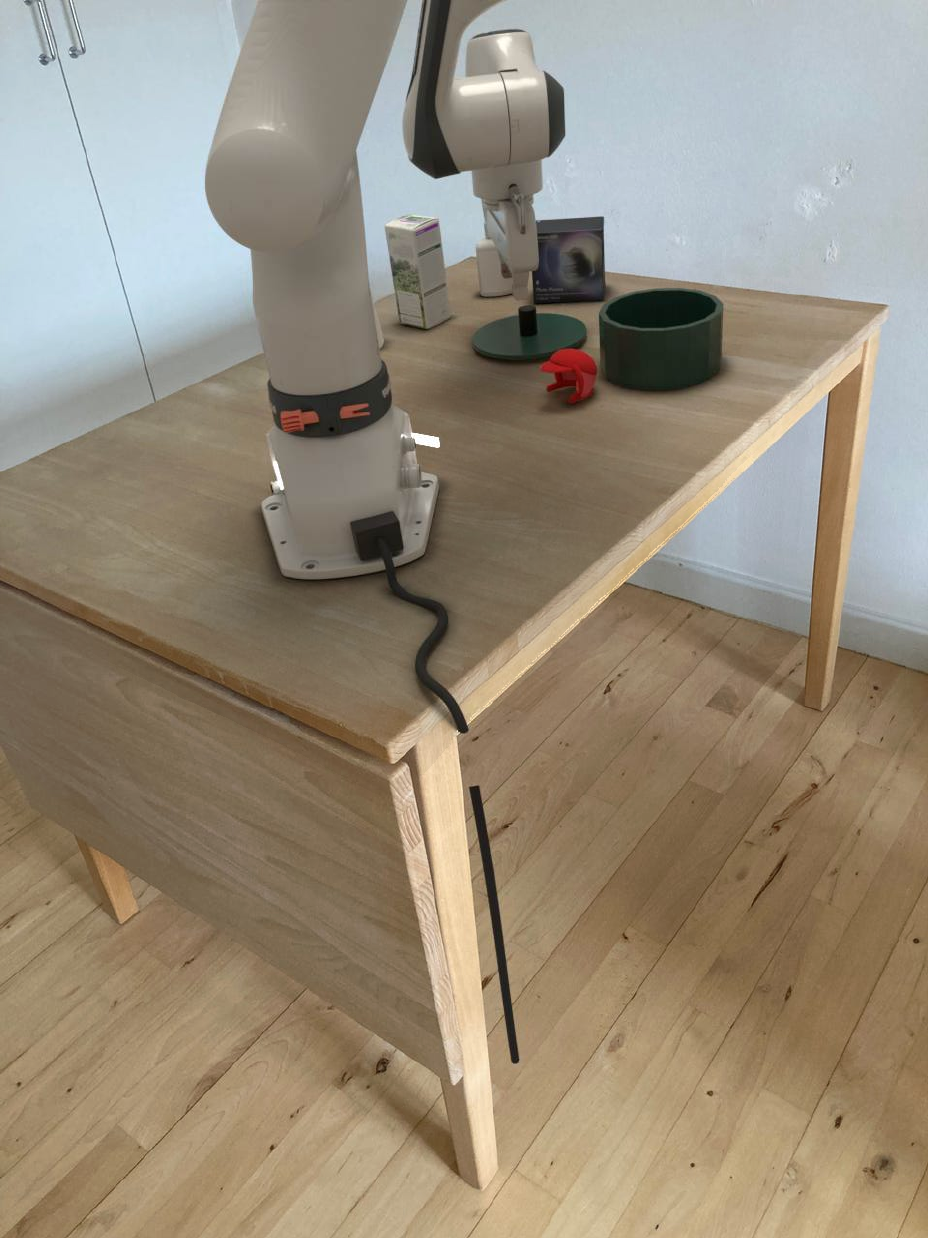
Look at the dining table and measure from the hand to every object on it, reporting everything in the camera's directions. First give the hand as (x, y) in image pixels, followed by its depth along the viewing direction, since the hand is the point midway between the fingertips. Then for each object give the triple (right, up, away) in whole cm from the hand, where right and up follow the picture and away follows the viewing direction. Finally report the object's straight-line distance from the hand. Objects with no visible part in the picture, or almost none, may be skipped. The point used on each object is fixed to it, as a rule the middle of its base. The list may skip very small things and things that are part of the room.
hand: (514, 287), depth 137 cm
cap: (+6, -17, -12) cm, 22 cm away
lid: (+2, -6, +3) cm, 7 cm away
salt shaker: (-20, -6, +9) cm, 23 cm away
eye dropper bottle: (-1, +6, +22) cm, 23 cm away
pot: (+18, -12, -8) cm, 23 cm away
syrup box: (-12, 0, +15) cm, 20 cm away
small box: (+9, +4, +17) cm, 20 cm away
